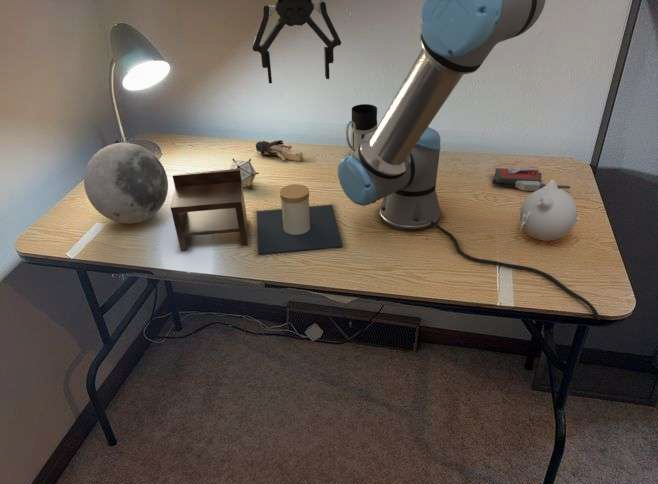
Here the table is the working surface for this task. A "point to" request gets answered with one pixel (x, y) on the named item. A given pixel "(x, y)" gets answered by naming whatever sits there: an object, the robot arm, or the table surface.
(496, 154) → the table surface
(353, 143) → the glass holder
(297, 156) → the toy figure
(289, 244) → the mat
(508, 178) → the walkie-talkie
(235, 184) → the shelf
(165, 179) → the moon model
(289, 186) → the canister
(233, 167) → the spiked polyhedron
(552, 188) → the grey round piece
